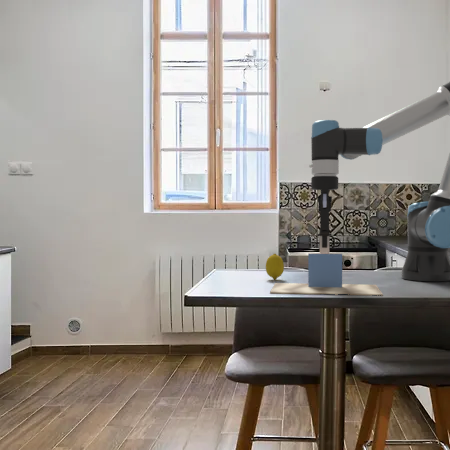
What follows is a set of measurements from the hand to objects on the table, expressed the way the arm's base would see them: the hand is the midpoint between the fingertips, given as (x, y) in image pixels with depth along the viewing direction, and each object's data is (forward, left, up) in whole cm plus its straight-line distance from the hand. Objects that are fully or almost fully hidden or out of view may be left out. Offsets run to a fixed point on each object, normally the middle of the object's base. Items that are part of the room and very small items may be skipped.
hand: (324, 259), depth 166 cm
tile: (0, +7, -7) cm, 10 cm away
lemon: (+15, -10, -8) cm, 19 cm away
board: (0, +10, -7) cm, 13 cm away
